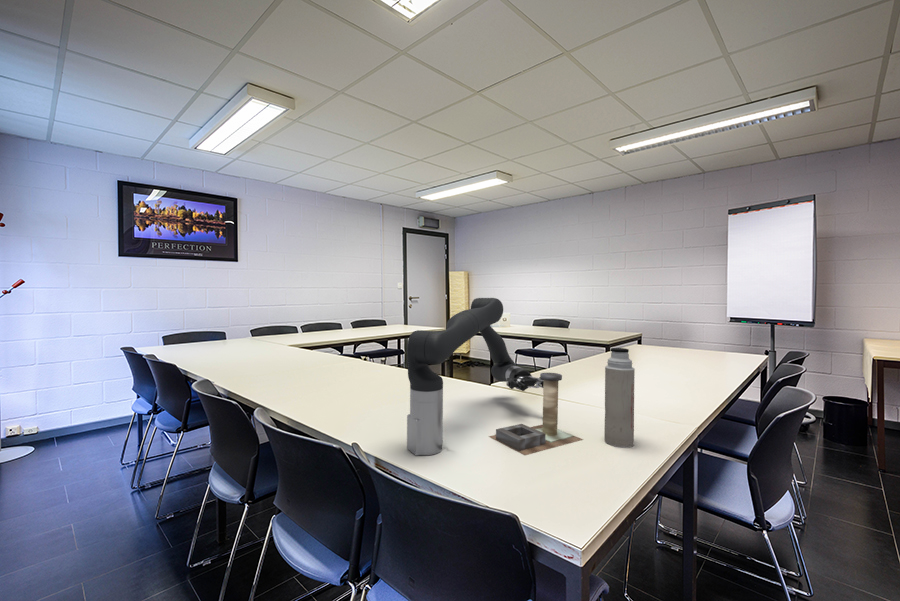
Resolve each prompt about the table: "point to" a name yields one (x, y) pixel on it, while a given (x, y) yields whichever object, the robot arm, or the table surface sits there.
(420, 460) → the table surface
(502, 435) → the board
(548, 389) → the wheel post
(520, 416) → the table surface
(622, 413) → the thermos bottle
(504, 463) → the table surface
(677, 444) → the table surface
